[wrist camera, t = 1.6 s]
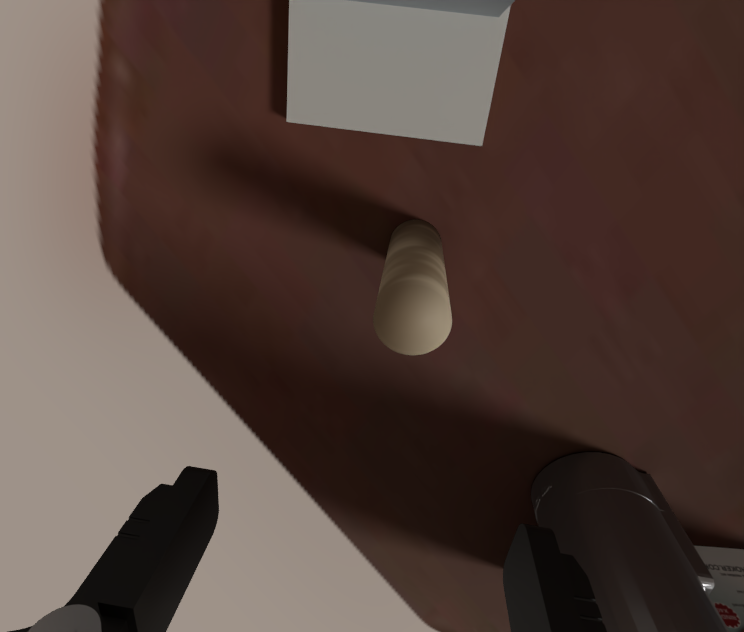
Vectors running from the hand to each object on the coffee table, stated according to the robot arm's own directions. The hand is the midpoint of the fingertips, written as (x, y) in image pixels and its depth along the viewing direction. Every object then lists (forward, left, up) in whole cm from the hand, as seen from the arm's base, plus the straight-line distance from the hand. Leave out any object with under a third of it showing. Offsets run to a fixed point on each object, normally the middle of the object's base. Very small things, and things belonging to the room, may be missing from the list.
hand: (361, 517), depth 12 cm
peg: (-1, -1, -22) cm, 22 cm away
